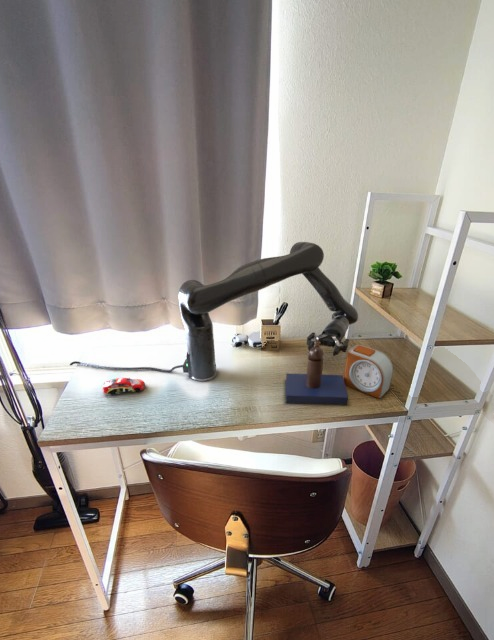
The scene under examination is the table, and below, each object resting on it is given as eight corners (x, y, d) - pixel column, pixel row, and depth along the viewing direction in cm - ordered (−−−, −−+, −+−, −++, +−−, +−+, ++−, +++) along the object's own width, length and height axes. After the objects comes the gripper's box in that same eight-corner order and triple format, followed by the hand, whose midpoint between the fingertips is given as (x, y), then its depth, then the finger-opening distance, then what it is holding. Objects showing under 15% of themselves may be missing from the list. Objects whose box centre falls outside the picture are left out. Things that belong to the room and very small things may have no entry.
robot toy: (231, 353, 150) (268, 352, 150) (229, 343, 148) (267, 341, 147) (234, 340, 160) (268, 338, 160) (233, 330, 158) (268, 329, 157)
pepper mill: (304, 388, 123) (308, 349, 115) (304, 380, 128) (307, 342, 119) (321, 388, 124) (325, 349, 115) (319, 381, 128) (324, 342, 119)
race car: (146, 384, 128) (144, 374, 126) (145, 392, 124) (143, 382, 121) (105, 387, 125) (102, 377, 123) (103, 396, 121) (100, 385, 118)
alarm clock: (340, 383, 132) (345, 349, 124) (352, 374, 138) (357, 341, 130) (378, 399, 125) (386, 364, 117) (389, 388, 131) (397, 354, 123)
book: (286, 403, 121) (286, 395, 120) (286, 380, 133) (286, 373, 131) (347, 405, 121) (348, 397, 120) (341, 382, 133) (342, 375, 131)
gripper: (316, 319, 138) (302, 336, 125) (354, 326, 134) (343, 344, 121) (315, 338, 142) (301, 356, 130) (351, 345, 138) (341, 364, 125)
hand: (322, 350), depth 125 cm, fingers open, 8 cm apart
